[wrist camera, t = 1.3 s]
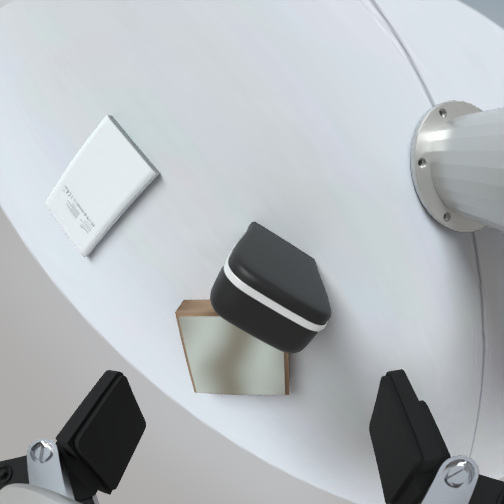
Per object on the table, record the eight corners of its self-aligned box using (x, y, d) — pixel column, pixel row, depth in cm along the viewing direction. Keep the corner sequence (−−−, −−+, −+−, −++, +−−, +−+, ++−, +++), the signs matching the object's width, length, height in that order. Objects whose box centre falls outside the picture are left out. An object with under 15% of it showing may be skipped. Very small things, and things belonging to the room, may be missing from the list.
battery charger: (229, 253, 26) (192, 314, 16) (251, 217, 25) (226, 258, 14) (294, 293, 27) (298, 372, 16) (318, 260, 26) (340, 326, 15)
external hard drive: (162, 173, 26) (91, 254, 29) (114, 115, 24) (52, 200, 27) (155, 173, 24) (83, 258, 27) (105, 114, 23) (43, 203, 26)
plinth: (286, 297, 27) (286, 312, 24) (289, 378, 30) (289, 397, 27) (183, 300, 28) (173, 314, 25) (200, 377, 31) (193, 394, 28)
